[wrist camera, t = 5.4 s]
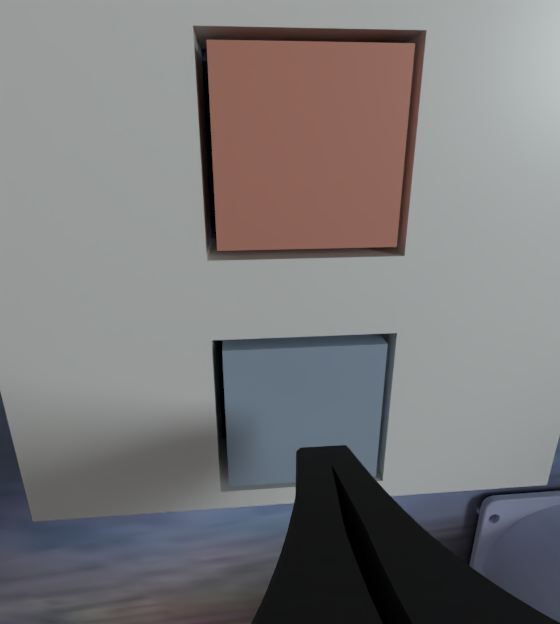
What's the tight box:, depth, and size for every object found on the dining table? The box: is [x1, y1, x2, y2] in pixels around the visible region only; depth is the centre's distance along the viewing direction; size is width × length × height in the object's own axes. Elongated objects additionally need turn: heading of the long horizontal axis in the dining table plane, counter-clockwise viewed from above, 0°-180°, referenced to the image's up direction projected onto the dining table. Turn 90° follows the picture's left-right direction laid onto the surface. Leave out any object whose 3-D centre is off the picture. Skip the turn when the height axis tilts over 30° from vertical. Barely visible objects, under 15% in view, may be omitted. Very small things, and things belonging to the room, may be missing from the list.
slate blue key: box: [222, 334, 388, 487], centre depth 16 cm, size 5×5×3 cm
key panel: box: [0, 0, 560, 522], centre depth 15 cm, size 15×18×3 cm
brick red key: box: [206, 40, 415, 251], centre depth 13 cm, size 5×5×3 cm
